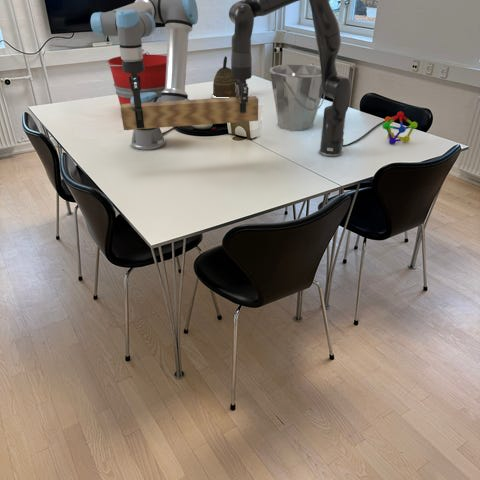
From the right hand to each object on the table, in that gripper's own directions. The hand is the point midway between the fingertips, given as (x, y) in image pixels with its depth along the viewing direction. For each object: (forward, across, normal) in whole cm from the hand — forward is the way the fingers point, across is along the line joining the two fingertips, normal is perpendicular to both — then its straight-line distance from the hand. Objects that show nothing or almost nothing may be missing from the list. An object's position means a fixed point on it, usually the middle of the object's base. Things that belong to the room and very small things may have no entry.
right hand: (241, 110), depth 172 cm
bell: (+25, +114, -14) cm, 117 cm away
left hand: (+3, 0, +39) cm, 39 cm away
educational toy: (+25, +15, -78) cm, 83 cm away
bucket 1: (+24, +85, +38) cm, 96 cm away
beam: (+4, 0, +20) cm, 20 cm away
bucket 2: (+25, +50, -40) cm, 69 cm away
